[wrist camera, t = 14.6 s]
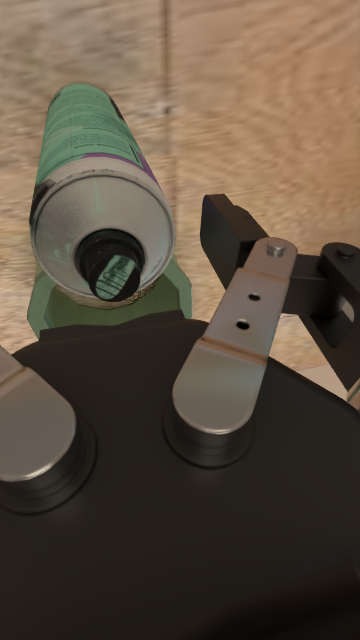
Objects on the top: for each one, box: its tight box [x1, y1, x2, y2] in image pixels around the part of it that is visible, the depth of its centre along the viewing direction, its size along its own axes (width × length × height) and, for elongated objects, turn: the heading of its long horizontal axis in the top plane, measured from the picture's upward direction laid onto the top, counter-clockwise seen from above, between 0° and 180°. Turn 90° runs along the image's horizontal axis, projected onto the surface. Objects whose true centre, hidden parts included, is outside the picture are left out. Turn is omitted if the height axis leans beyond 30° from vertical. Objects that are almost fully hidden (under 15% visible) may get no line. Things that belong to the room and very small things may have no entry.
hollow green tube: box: [27, 253, 192, 340], centre depth 30 cm, size 14×14×8 cm
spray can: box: [29, 82, 175, 302], centre depth 17 cm, size 6×6×20 cm
